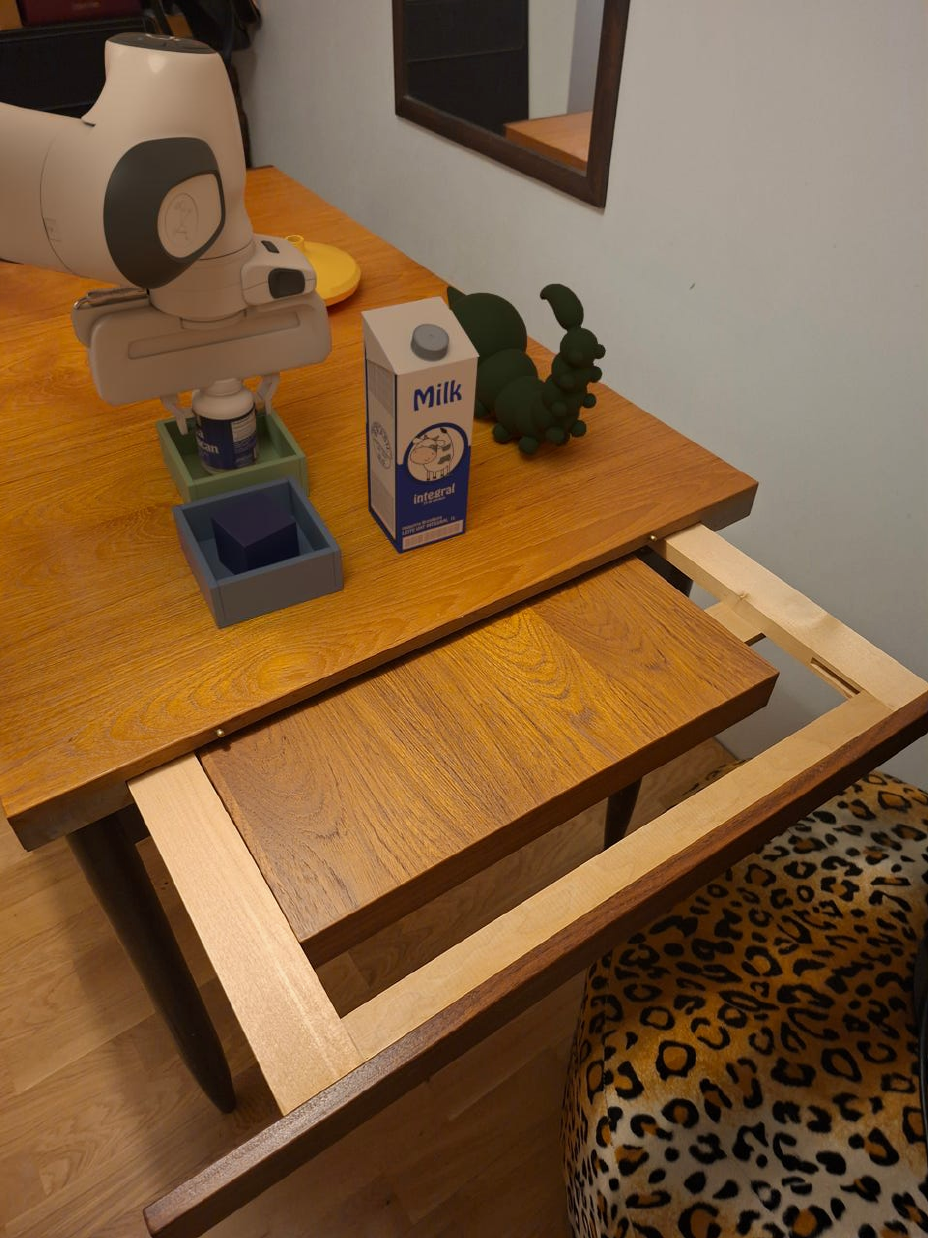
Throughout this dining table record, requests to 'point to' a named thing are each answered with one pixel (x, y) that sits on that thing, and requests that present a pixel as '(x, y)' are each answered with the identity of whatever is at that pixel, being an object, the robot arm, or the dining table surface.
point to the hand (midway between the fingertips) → (226, 421)
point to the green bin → (196, 483)
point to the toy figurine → (529, 368)
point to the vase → (330, 269)
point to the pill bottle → (226, 426)
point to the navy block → (254, 534)
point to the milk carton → (418, 420)
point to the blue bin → (267, 584)
